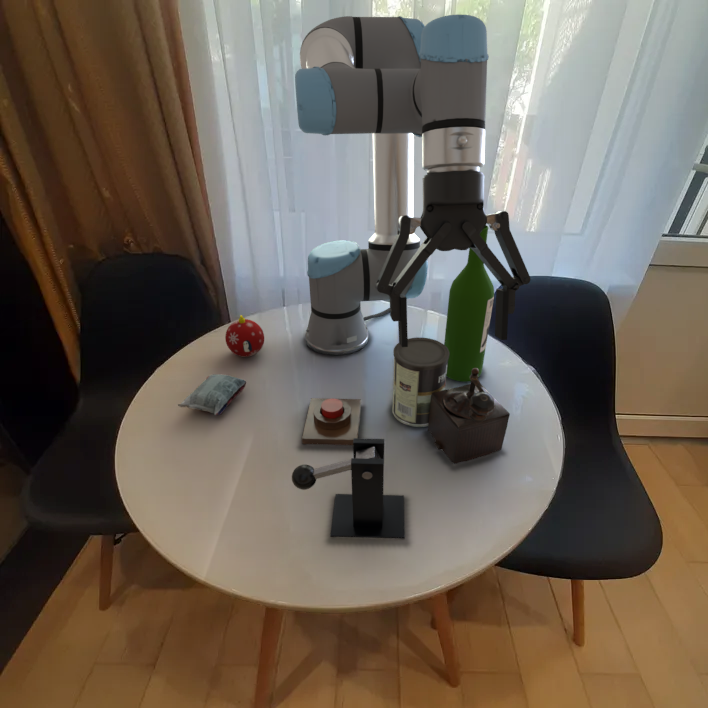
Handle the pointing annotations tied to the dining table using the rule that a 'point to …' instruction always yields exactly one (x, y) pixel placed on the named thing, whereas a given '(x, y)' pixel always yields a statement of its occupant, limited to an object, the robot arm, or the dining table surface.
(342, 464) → the lever
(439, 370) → the coffee can
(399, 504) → the bracket
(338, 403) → the button
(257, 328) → the christmas ornament
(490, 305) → the wine bottle
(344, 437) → the button block
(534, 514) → the dining table surface
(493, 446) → the brown coffee grinder
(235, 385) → the packaged food
